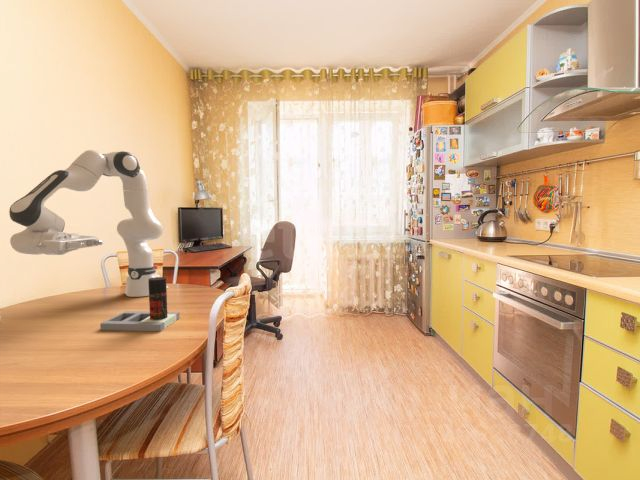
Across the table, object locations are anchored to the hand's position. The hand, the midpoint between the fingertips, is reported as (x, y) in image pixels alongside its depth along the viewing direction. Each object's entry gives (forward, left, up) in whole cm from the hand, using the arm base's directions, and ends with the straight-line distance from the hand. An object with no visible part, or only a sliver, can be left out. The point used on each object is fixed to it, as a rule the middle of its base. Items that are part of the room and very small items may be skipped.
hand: (92, 243), depth 121 cm
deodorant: (+3, +26, -28) cm, 38 cm away
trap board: (+3, +20, -30) cm, 36 cm away
